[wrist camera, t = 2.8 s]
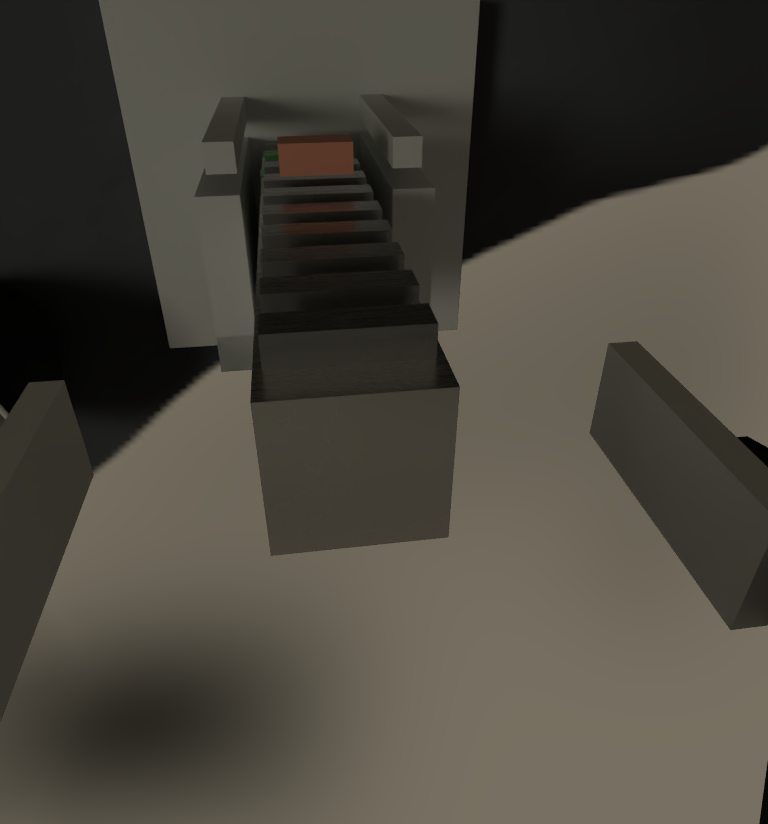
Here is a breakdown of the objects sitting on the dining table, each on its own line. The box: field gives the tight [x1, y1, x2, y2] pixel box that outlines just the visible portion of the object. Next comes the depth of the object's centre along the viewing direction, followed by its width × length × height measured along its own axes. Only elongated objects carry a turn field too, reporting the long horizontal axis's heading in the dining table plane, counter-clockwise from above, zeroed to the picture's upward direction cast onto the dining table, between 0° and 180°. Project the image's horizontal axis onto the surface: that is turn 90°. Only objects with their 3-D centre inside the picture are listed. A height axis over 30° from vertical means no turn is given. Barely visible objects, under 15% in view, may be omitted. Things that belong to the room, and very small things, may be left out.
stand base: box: [99, 0, 480, 372], centre depth 28 cm, size 16×16×13 cm
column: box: [251, 140, 460, 556], centre depth 22 cm, size 5×4×22 cm
